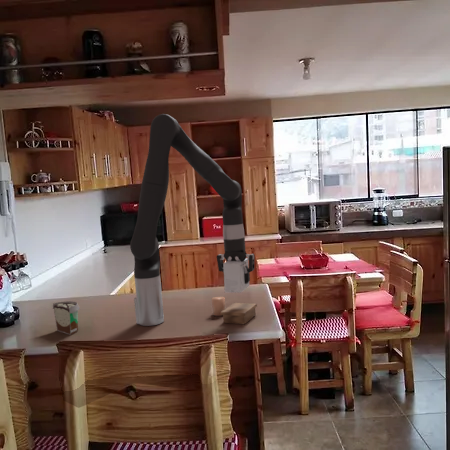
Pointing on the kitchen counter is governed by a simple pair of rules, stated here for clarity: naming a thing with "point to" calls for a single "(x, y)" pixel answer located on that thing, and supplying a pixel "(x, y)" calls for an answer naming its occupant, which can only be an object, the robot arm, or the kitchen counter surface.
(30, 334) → the kitchen counter surface
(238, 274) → the skincare box
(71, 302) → the food container
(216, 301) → the peach rounded knob
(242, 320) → the stand
